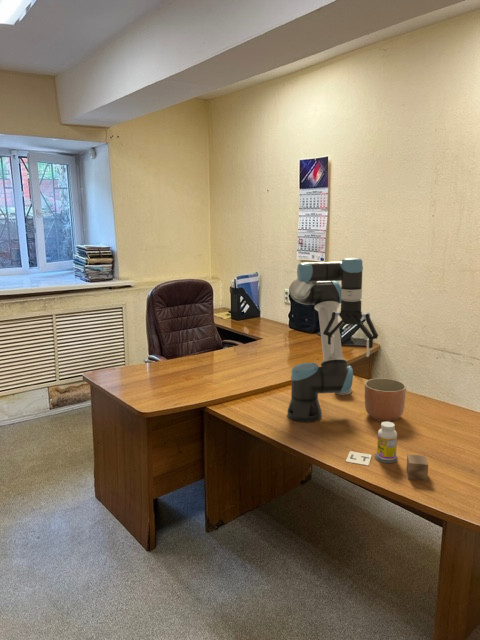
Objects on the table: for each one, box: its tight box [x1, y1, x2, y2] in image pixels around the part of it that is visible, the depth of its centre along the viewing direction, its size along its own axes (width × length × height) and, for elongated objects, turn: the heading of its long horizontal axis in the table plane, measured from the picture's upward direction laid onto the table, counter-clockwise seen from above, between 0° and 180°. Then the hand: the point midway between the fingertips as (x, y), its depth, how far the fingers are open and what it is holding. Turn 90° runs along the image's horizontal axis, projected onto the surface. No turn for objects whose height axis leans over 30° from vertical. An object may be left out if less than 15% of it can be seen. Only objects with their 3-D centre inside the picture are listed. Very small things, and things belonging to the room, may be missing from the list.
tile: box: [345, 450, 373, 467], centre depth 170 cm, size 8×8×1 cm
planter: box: [364, 377, 407, 423], centre depth 203 cm, size 17×17×15 cm
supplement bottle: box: [376, 421, 398, 461], centre depth 169 cm, size 7×7×13 cm
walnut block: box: [406, 454, 429, 482], centre depth 158 cm, size 6×6×6 cm
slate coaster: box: [374, 452, 398, 464], centre depth 170 cm, size 8×8×1 cm
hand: (349, 354), depth 179 cm, fingers open, 13 cm apart
